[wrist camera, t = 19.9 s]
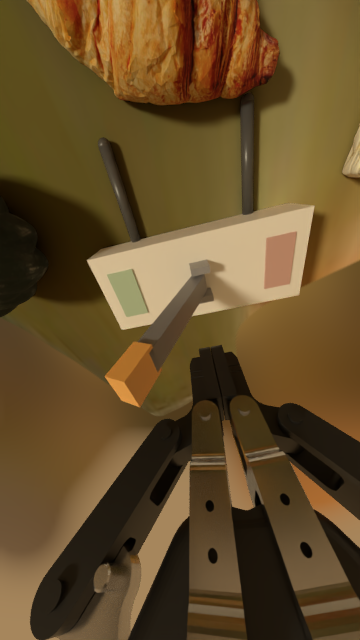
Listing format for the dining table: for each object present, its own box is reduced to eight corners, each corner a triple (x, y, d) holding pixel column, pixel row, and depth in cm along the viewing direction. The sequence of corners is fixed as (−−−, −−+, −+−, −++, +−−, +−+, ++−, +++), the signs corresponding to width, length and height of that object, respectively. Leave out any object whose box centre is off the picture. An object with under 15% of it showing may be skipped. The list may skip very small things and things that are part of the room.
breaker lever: (191, 272, 21) (104, 376, 11) (204, 271, 20) (124, 382, 10) (195, 292, 22) (122, 400, 12) (207, 292, 22) (140, 407, 12)
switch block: (58, 153, 19) (8, 137, 13) (301, 78, 17) (368, 19, 11) (129, 310, 30) (118, 339, 24) (280, 279, 28) (308, 302, 22)
